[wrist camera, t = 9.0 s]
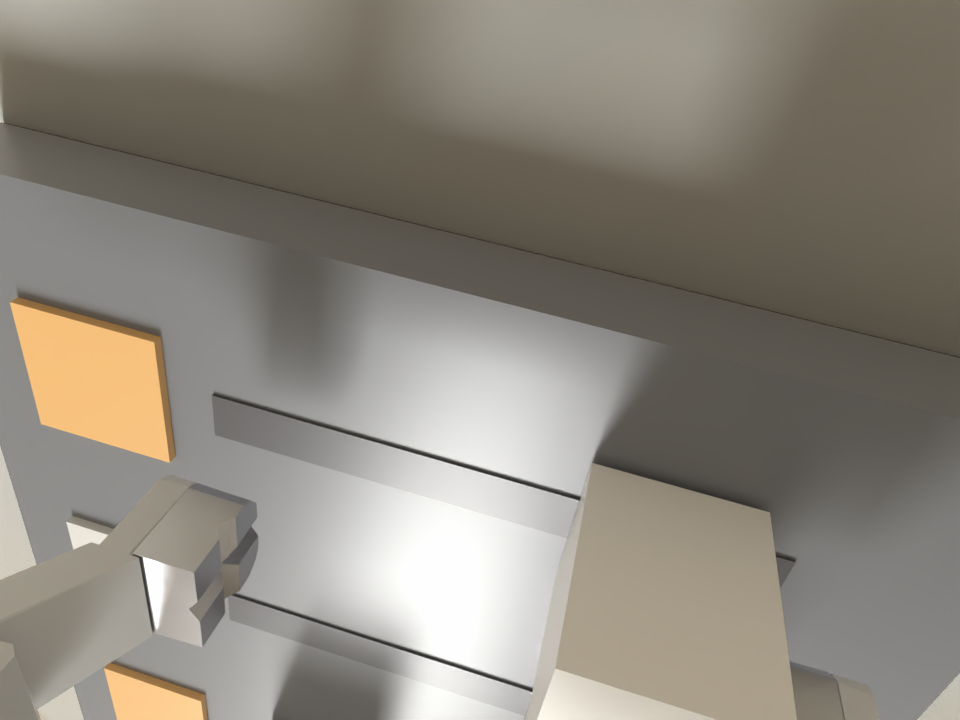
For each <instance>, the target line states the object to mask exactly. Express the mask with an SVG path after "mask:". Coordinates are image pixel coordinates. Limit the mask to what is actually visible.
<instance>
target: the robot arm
mask: <svg viewBox="0 0 960 720" xmlns="http://www.w3.org/2000/svg"><path fill="white" fill-rule="evenodd" d="M257 517H258V516H257V504H256V502H253V501H251V500H248V499H245V498H242V497H239V496H236V495H233V494H229V493H226V492H223V491H220V490H217V489H214V488H211V487H208V486H205V485H202V484H199V483H196V482H193V481H190V480H186V479H183V478H180V477H177V476H174V475H170V474H169V475H167V476H166V477H164V478H162V479H160V480H159V481H158V482H157V483H156V484H155V485H154V486H153V487H152V488H151V489H150V490H149V492H148V493H147V494H146V495H145V496H144V497H143V498H142V499H141V500H140V501H139V502H138V503H137V504H136V506H135V507H134V508H133V509H132V510H131V511H130V512H129V513H128V514H127V515H126V516H125V517H124V519H123V520H122V521H121V522H120V523H119V524H118V525H117V526H116V527H115V528H114V529H113V530H112V531H111V533H110V534H109V535H108V536H107V537H106V538H105V539H104V540H103V541H102V542H101V543H100V544H95V543H92V542H90V543H88V544H86V545H83V546H81V547H78V548H76V549H74V550H71V551H69V552H66V553H64V554H62V555H59V556H57V557H54V558H52V559H50V560H47V561H45V562H42V563H40V564H38V565H35V566H33V567H30V568H28V569H25V570H23V571H21V572H18V573H16V574H13V575H11V576H9V577H6V578H4V579H1V580H0V720H41V719H40V716H39V713H38V711H37V709H38V708H39V707H41V706H43V705H44V704H46V703H47V702H49V701H50V700H52V699H54V698H55V697H57V696H58V695H60V694H62V693H63V692H65V691H66V690H68V689H69V688H71V687H73V686H74V685H76V684H77V683H79V682H81V681H82V680H84V679H85V678H87V677H88V676H90V675H92V674H93V673H95V672H96V671H98V670H100V669H101V668H103V667H104V666H106V665H107V664H109V663H111V662H112V661H114V660H115V659H117V658H119V657H120V656H122V655H123V654H125V653H126V652H128V651H130V650H131V649H133V648H134V647H136V646H138V645H139V644H141V643H142V642H144V641H146V640H147V639H149V638H150V637H152V636H153V633H156V634H159V635H163V636H166V637H169V638H173V639H176V640H180V641H183V642H186V643H190V644H193V645H196V646H200V647H203V646H204V645H205V643H206V642H207V640H208V639H209V637H210V636H211V634H212V633H213V631H214V630H215V628H216V626H217V625H218V623H219V622H220V620H221V619H222V617H223V616H224V614H225V600H224V599H225V598H227V597H229V596H231V595H233V594H234V593H236V592H238V591H240V590H241V588H242V587H243V585H244V583H245V582H246V580H247V579H248V577H249V575H250V573H251V570H252V568H253V565H254V563H255V560H256V557H257V551H258V535H257V533H256V532H255V531H254V529H253V528H252V524H253V523H254V521H255V520H256V518H257ZM152 632H153V633H152ZM789 662H790V670H791V677H792V685H793V693H794V701H795V708H796V716H797V720H879V717H878V713H877V709H876V705H875V700H874V696H873V692H872V691H871V689H870V688H869V686H868V685H867V684H864V683H861V682H857V681H854V680H851V679H847V678H844V677H841V676H837V675H834V674H829V673H828V672H826V671H823V670H819V669H816V668H812V667H809V666H805V665H802V664H798V663H795V662H791V661H789Z"/></svg>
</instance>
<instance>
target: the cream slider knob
mask: <svg viewBox="0 0 960 720" xmlns="http://www.w3.org/2000/svg"><path fill="white" fill-rule="evenodd" d="M527 720H797V716H796V708H795V701H794V693H793V685H792V677H791V670H790V662H789V654H788V647H787V639H786V631H785V624H784V616H783V608H782V600H781V593H780V585H779V577H778V570H777V562H776V554H775V546H774V539H773V531H772V523H771V516H770V512H767V511H763V510H759V509H756V508H752V507H749V506H745V505H742V504H738V503H734V502H731V501H727V500H724V499H720V498H716V497H713V496H709V495H706V494H702V493H699V492H695V491H691V490H688V489H684V488H681V487H677V486H673V485H670V484H666V483H663V482H659V481H656V480H652V479H648V478H645V477H641V476H638V475H634V474H630V473H627V472H623V471H620V470H616V469H613V468H609V467H605V466H602V465H598V464H595V463H592V464H591V467H590V470H589V473H588V477H587V480H586V483H585V486H584V489H583V492H582V495H581V499H580V502H579V505H578V508H577V511H576V514H575V517H574V520H573V524H572V527H571V530H570V533H569V536H568V539H567V542H566V546H565V549H564V552H563V555H562V558H561V561H560V564H559V567H558V571H557V574H556V577H555V582H554V587H553V592H552V597H551V602H550V607H549V612H548V617H547V621H546V626H545V631H544V636H543V641H542V646H541V651H540V656H539V661H538V666H537V671H536V676H535V681H534V686H533V691H532V696H531V701H530V706H529V711H528V716H527Z"/></svg>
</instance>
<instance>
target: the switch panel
mask: <svg viewBox="0 0 960 720" xmlns="http://www.w3.org/2000/svg"><path fill="white" fill-rule="evenodd" d="M0 446H1V449H2V452H3V456H4V459H5V462H6V465H7V469H8V472H9V475H10V479H11V482H12V485H13V488H14V492H15V495H16V498H17V501H18V505H19V508H20V511H21V514H22V518H23V521H24V524H25V528H26V531H27V534H28V537H29V541H30V544H31V547H32V550H33V554H34V557H35V560H36V564H37V565H38V564H40V563H42V562H45V561H47V560H50V559H52V558H54V557H57V556H59V555H62V554H64V553H66V552H69V551H71V550H74V549H76V548H78V547H81V546H83V545H86V544H88V543H90V542H92V543H95V544H100V543H101V542H102V541H103V540H104V539H105V538H106V537H107V536H108V535H109V534H110V533H111V531H112V530H113V529H114V528H115V527H116V526H117V525H118V524H119V523H120V522H121V521H122V520H123V519H124V517H125V516H126V515H127V514H128V513H129V512H130V511H131V510H132V509H133V508H134V507H135V506H136V504H137V503H138V502H139V501H140V500H141V499H142V498H143V497H144V496H145V495H146V494H147V493H148V492H149V490H150V489H151V488H152V487H153V486H154V485H155V484H156V483H157V482H158V481H159V480H160V479H162V478H164V477H166V476H167V475H169V474H170V475H174V476H177V477H180V478H183V479H186V480H190V481H193V482H196V483H199V484H202V485H205V486H208V487H211V488H214V489H217V490H220V491H223V492H226V493H229V494H233V495H236V496H239V497H242V498H245V499H248V500H251V501H253V502H256V504H257V516H258V517H257V518H256V520H255V521H254V523H253V524H252V528H253V529H254V531H255V532H256V533H257V535H258V551H257V557H256V560H255V563H254V565H253V568H252V570H251V573H250V575H249V577H248V579H247V580H246V582H245V583H244V585H243V587H242V588H241V590H240V591H238V592H236V593H234V594H233V595H231V596H229V597H227V598H225V599H224V600H225V614H224V616H223V617H222V619H221V620H220V622H219V623H218V625H217V626H216V628H215V630H214V631H213V633H212V634H211V636H210V637H209V639H208V640H207V642H206V643H205V645H204V646H203V647H200V646H196V645H193V644H190V643H186V642H183V641H180V640H176V639H173V638H169V637H166V636H163V635H159V634H156V633H153V632H152V633H153V636H152V637H150V638H149V639H147V640H146V641H144V642H142V643H141V644H139V645H138V646H136V647H134V648H133V649H131V650H130V651H128V652H126V653H125V654H123V655H122V656H120V657H119V658H117V659H115V660H114V661H112V662H111V663H109V664H107V665H106V666H104V667H103V668H101V669H100V670H98V671H96V672H95V673H93V674H92V675H90V676H88V677H87V678H85V679H84V680H82V681H81V682H79V683H77V684H76V685H74V688H75V691H76V694H77V698H78V701H79V704H80V707H81V711H82V714H83V717H84V720H525V717H526V714H527V711H528V708H529V705H530V701H531V696H532V691H533V686H534V681H535V676H536V671H537V666H538V661H539V656H540V651H541V646H542V641H543V636H544V631H545V626H546V621H547V617H548V612H549V607H550V602H551V597H552V592H553V587H554V582H555V577H556V574H557V571H558V567H559V564H560V561H561V558H562V555H563V552H564V549H565V546H566V542H567V539H568V536H569V533H570V530H571V527H572V524H573V520H574V517H575V514H576V511H577V508H578V505H579V502H580V499H581V495H582V492H583V489H584V486H585V483H586V480H587V477H588V473H589V470H590V467H591V464H592V463H595V464H598V465H602V466H605V467H609V468H613V469H616V470H620V471H623V472H627V473H630V474H634V475H638V476H641V477H645V478H648V479H652V480H656V481H659V482H663V483H666V484H670V485H673V486H677V487H681V488H684V489H688V490H691V491H695V492H699V493H702V494H706V495H709V496H713V497H716V498H720V499H724V500H727V501H731V502H734V503H738V504H742V505H745V506H749V507H752V508H756V509H759V510H763V511H767V512H770V516H771V523H772V531H773V539H774V546H775V554H776V562H777V570H778V577H779V585H780V593H781V600H782V608H783V616H784V624H785V631H786V639H787V647H788V654H789V661H791V662H795V663H798V664H802V665H805V666H809V667H812V668H816V669H819V670H823V671H826V672H828V673H829V674H834V675H837V676H841V677H844V678H847V679H851V680H854V681H857V682H861V683H864V684H867V685H868V686H869V688H870V689H871V691H872V692H873V696H874V700H875V705H876V709H877V713H878V717H879V720H917V719H918V718H919V717H920V716H921V714H922V713H923V712H924V711H925V710H926V709H927V708H928V707H929V706H930V705H931V704H932V702H933V701H934V700H935V699H936V698H937V697H938V696H939V695H940V694H941V693H942V692H943V690H944V689H945V688H946V687H947V686H948V685H949V684H950V683H951V682H952V681H953V680H954V678H955V677H956V676H957V675H958V674H959V673H960V358H958V357H954V356H950V355H946V354H942V353H938V352H934V351H930V350H926V349H922V348H918V347H914V346H909V345H905V344H901V343H897V342H893V341H889V340H885V339H881V338H877V337H873V336H869V335H865V334H861V333H857V332H852V331H848V330H844V329H840V328H836V327H832V326H828V325H824V324H820V323H816V322H812V321H808V320H804V319H800V318H795V317H791V316H787V315H783V314H779V313H775V312H771V311H767V310H763V309H759V308H755V307H751V306H747V305H742V304H738V303H734V302H730V301H726V300H722V299H718V298H714V297H710V296H706V295H702V294H698V293H694V292H690V291H685V290H681V289H677V288H673V287H669V286H665V285H661V284H657V283H653V282H649V281H645V280H641V279H637V278H633V277H628V276H624V275H620V274H616V273H612V272H608V271H604V270H600V269H596V268H592V267H588V266H584V265H580V264H576V263H571V262H567V261H563V260H559V259H555V258H551V257H547V256H543V255H539V254H535V253H531V252H527V251H523V250H518V249H514V248H510V247H506V246H502V245H498V244H494V243H490V242H486V241H482V240H478V239H474V238H470V237H466V236H461V235H457V234H453V233H449V232H445V231H441V230H437V229H433V228H429V227H425V226H421V225H417V224H413V223H409V222H404V221H400V220H396V219H392V218H388V217H384V216H380V215H376V214H372V213H368V212H364V211H360V210H356V209H352V208H347V207H343V206H339V205H335V204H331V203H327V202H323V201H319V200H315V199H311V198H307V197H303V196H299V195H294V194H290V193H286V192H282V191H278V190H274V189H270V188H266V187H262V186H258V185H254V184H250V183H246V182H242V181H237V180H233V179H229V178H225V177H221V176H217V175H213V174H209V173H205V172H201V171H197V170H193V169H189V168H185V167H180V166H176V165H172V164H168V163H164V162H160V161H156V160H152V159H148V158H144V157H140V156H136V155H132V154H128V153H123V152H119V151H115V150H111V149H107V148H103V147H99V146H95V145H91V144H87V143H83V142H79V141H75V140H70V139H66V138H62V137H58V136H54V135H50V134H46V133H42V132H38V131H34V130H30V129H26V128H22V127H18V126H13V125H9V124H5V123H0Z"/></svg>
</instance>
